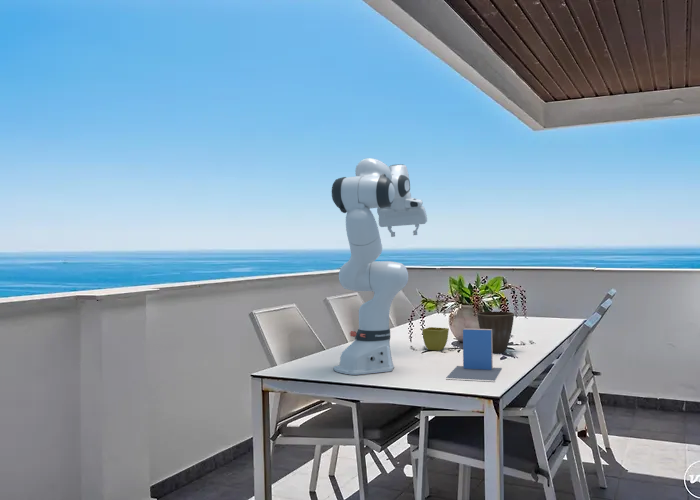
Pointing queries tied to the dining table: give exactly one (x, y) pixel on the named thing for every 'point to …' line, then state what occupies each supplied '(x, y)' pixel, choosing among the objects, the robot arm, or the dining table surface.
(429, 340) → the flower pot
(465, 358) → the upright blue panel
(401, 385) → the dining table surface
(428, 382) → the dining table surface
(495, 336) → the plant pot
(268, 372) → the dining table surface
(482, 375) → the charcoal mat
